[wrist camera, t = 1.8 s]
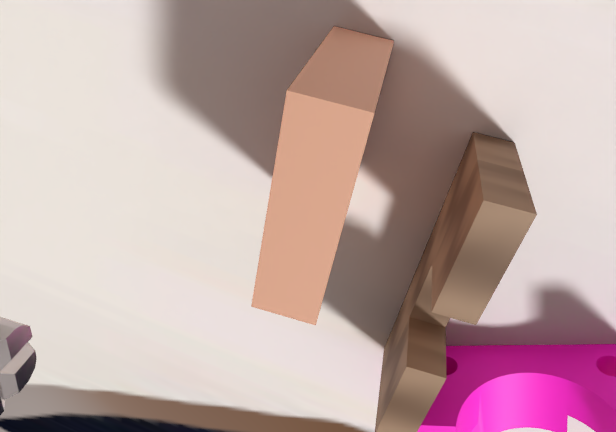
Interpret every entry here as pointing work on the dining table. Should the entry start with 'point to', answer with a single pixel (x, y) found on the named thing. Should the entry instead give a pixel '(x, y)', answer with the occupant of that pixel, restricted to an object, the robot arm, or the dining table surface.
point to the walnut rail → (454, 276)
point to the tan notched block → (317, 170)
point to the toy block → (525, 388)
